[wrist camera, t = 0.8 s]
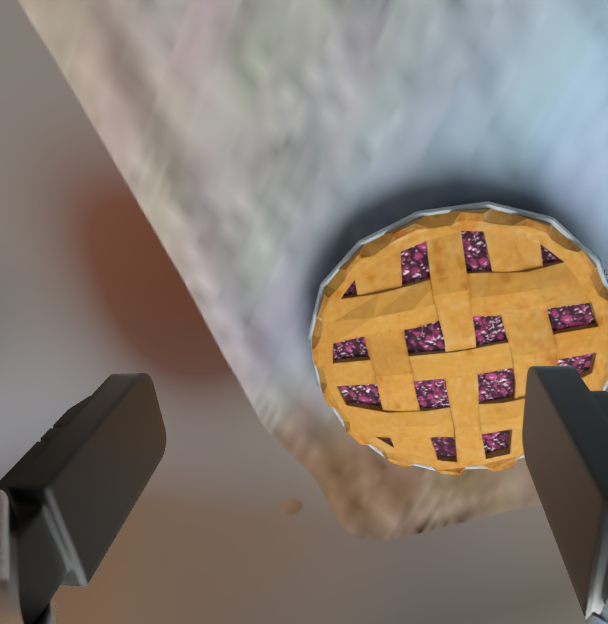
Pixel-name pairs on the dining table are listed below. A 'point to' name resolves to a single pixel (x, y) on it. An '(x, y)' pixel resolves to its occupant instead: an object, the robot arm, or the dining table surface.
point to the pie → (455, 331)
